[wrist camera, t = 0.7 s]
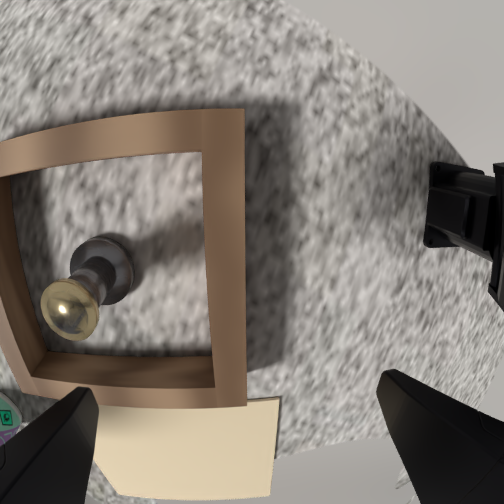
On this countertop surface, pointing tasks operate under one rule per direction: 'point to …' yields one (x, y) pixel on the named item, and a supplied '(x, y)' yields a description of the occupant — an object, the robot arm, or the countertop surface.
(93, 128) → the walnut frame
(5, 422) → the spray can
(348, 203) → the countertop surface
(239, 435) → the cork mat
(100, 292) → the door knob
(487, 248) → the robot arm
